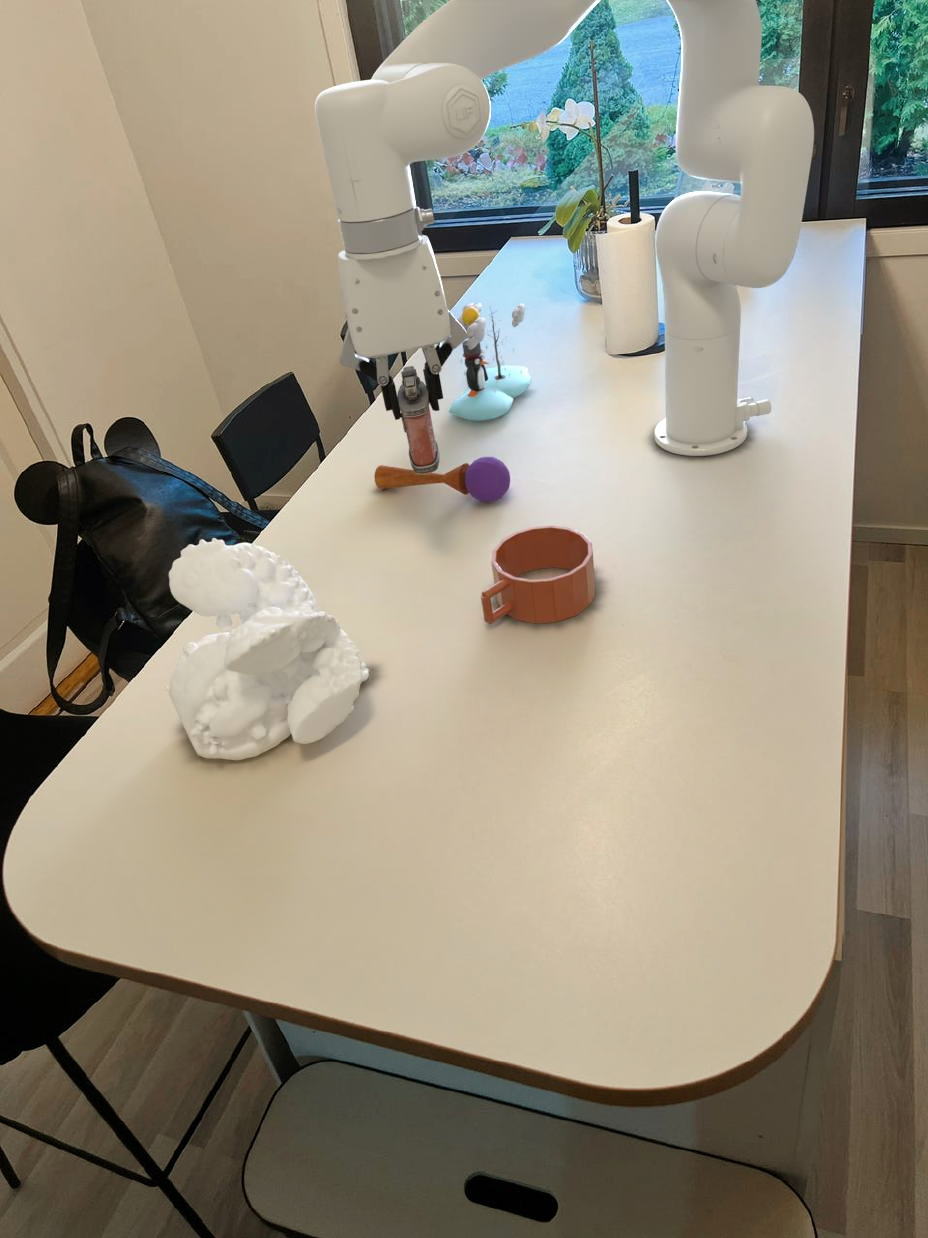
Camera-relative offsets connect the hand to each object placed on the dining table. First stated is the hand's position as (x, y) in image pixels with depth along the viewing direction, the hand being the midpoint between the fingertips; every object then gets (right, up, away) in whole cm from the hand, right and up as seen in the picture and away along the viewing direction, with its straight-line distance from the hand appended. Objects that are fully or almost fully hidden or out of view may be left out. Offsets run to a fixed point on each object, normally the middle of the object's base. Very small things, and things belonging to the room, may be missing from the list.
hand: (415, 408), depth 94 cm
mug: (+13, -21, +3) cm, 25 cm away
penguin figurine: (+10, +13, +49) cm, 52 cm away
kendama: (+3, -6, +26) cm, 27 cm away
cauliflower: (-13, -33, -6) cm, 35 cm away
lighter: (+1, -5, +4) cm, 6 cm away
